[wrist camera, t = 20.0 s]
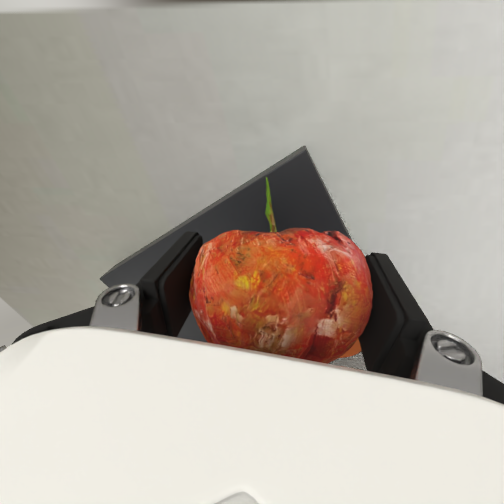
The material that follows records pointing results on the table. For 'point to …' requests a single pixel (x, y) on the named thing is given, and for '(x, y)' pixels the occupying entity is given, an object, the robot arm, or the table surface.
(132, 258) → the scale
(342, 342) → the pomegranate
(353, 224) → the table surface
